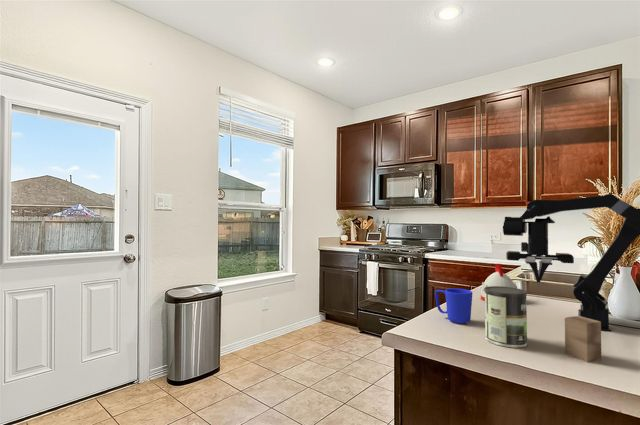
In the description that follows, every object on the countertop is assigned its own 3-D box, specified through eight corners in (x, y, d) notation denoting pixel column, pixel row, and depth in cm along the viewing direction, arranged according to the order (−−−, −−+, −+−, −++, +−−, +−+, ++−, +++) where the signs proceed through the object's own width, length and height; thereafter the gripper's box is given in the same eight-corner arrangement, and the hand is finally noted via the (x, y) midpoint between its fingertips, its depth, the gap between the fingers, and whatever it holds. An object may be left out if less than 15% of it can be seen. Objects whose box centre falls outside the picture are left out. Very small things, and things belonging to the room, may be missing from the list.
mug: (441, 313, 116) (441, 285, 116) (476, 321, 108) (476, 290, 108) (430, 318, 111) (430, 289, 111) (466, 327, 102) (466, 294, 102)
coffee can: (527, 338, 92) (526, 288, 93) (528, 351, 83) (527, 295, 84) (486, 332, 98) (485, 284, 98) (483, 343, 89) (482, 291, 89)
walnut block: (579, 351, 83) (578, 315, 84) (601, 359, 79) (600, 321, 79) (565, 353, 82) (564, 317, 82) (587, 362, 77) (586, 323, 77)
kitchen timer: (512, 297, 141) (512, 262, 141) (524, 305, 127) (523, 267, 128) (477, 295, 144) (476, 261, 144) (485, 303, 130) (485, 266, 131)
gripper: (565, 236, 116) (566, 280, 115) (505, 234, 124) (505, 276, 123) (574, 237, 105) (574, 286, 105) (507, 236, 114) (507, 281, 113)
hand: (538, 282), depth 112 cm, fingers closed
